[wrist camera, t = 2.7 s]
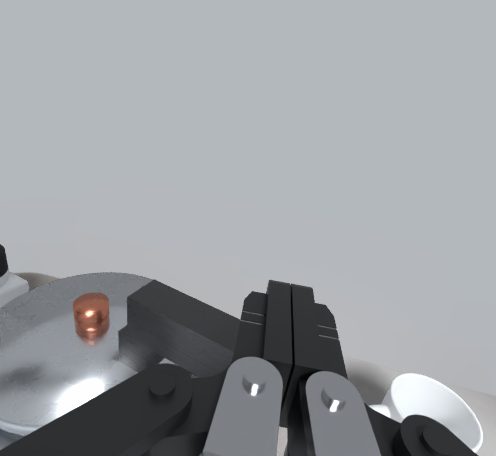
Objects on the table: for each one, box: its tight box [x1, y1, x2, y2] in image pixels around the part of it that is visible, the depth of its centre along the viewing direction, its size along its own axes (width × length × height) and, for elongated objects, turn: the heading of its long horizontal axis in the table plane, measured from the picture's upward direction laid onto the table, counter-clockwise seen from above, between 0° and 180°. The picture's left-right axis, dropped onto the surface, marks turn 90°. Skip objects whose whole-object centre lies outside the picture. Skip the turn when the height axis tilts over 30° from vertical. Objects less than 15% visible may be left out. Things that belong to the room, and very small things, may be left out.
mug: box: [368, 373, 483, 453], centre depth 33 cm, size 12×8×10 cm
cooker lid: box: [0, 272, 240, 436], centre depth 27 cm, size 28×19×9 cm, turn 64°
